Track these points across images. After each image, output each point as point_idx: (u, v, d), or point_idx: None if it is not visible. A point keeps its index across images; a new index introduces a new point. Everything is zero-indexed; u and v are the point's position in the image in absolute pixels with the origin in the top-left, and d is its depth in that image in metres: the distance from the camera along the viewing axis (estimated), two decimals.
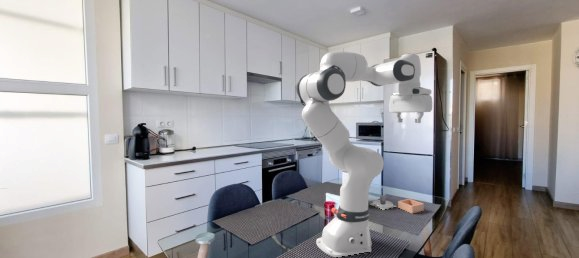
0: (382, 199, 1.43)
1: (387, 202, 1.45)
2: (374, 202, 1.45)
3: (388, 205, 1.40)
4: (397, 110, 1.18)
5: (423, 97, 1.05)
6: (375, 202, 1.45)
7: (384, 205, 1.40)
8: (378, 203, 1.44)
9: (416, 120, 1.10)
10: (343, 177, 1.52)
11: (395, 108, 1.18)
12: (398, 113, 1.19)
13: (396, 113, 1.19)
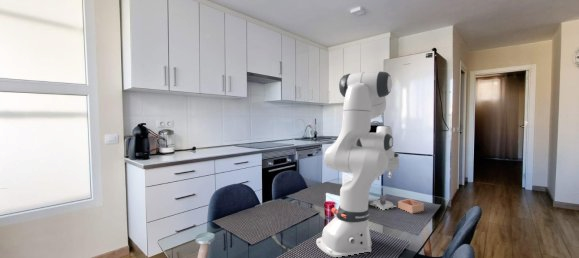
0: (382, 199, 1.43)
1: (387, 202, 1.45)
2: (374, 202, 1.45)
3: (388, 205, 1.40)
4: None
5: (398, 159, 1.45)
6: (375, 202, 1.45)
7: (384, 205, 1.40)
8: (378, 203, 1.44)
9: (390, 176, 1.45)
10: (343, 177, 1.52)
11: None
12: None
13: None
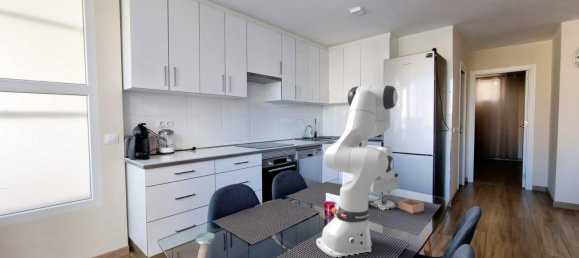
0: (383, 199, 1.43)
1: (388, 202, 1.46)
2: (375, 202, 1.46)
3: (389, 205, 1.41)
4: (380, 191, 1.41)
5: (398, 179, 1.46)
6: (376, 202, 1.46)
7: (385, 205, 1.41)
8: (379, 203, 1.44)
9: (387, 196, 1.45)
10: (343, 177, 1.52)
11: (378, 189, 1.40)
12: None
13: (380, 192, 1.42)
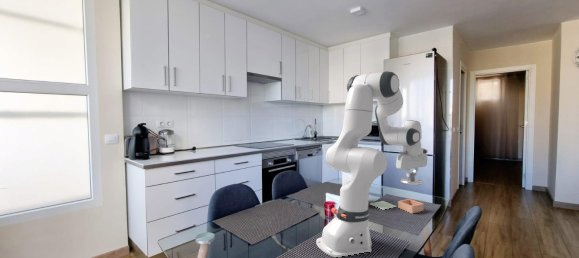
0: (411, 176, 1.36)
1: (416, 180, 1.38)
2: (402, 180, 1.38)
3: (418, 182, 1.34)
4: (408, 167, 1.33)
5: (426, 156, 1.38)
6: (403, 180, 1.38)
7: (414, 182, 1.34)
8: (406, 180, 1.37)
9: (415, 174, 1.37)
10: (343, 177, 1.52)
11: (407, 165, 1.33)
12: None
13: (408, 169, 1.35)
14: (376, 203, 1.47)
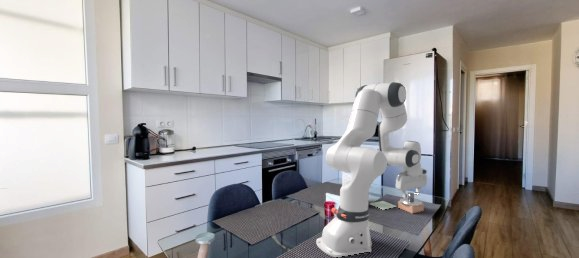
0: (410, 196, 1.37)
1: (415, 200, 1.39)
2: (401, 200, 1.39)
3: (417, 203, 1.34)
4: (407, 187, 1.34)
5: (426, 175, 1.39)
6: (402, 200, 1.39)
7: (413, 203, 1.34)
8: (406, 201, 1.37)
9: (418, 193, 1.39)
10: (343, 177, 1.52)
11: (406, 186, 1.34)
12: None
13: (405, 190, 1.34)
14: (376, 203, 1.47)
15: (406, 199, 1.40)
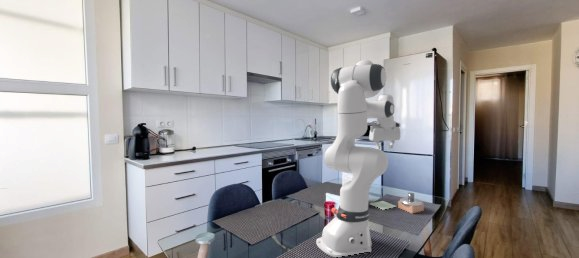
0: (410, 196, 1.37)
1: (415, 200, 1.39)
2: (401, 200, 1.39)
3: (417, 203, 1.34)
4: (380, 139, 1.40)
5: (399, 129, 1.45)
6: (402, 200, 1.39)
7: (413, 203, 1.34)
8: (406, 201, 1.37)
9: (392, 146, 1.45)
10: (343, 177, 1.52)
11: (379, 137, 1.39)
12: None
13: (378, 141, 1.40)
14: (376, 203, 1.47)
15: (406, 199, 1.40)
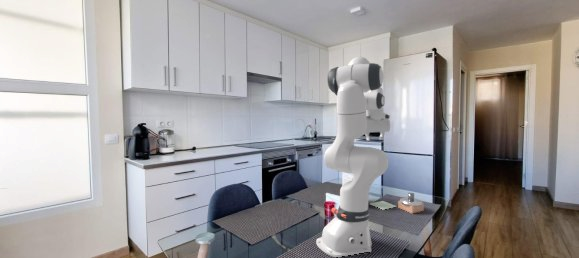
0: (410, 196, 1.37)
1: (415, 200, 1.39)
2: (401, 200, 1.39)
3: (417, 203, 1.34)
4: (370, 130, 1.42)
5: (389, 121, 1.47)
6: (402, 200, 1.39)
7: (413, 203, 1.34)
8: (406, 201, 1.37)
9: (382, 137, 1.47)
10: (343, 177, 1.52)
11: (369, 129, 1.42)
12: None
13: (368, 133, 1.42)
14: (376, 203, 1.47)
15: (406, 199, 1.40)
